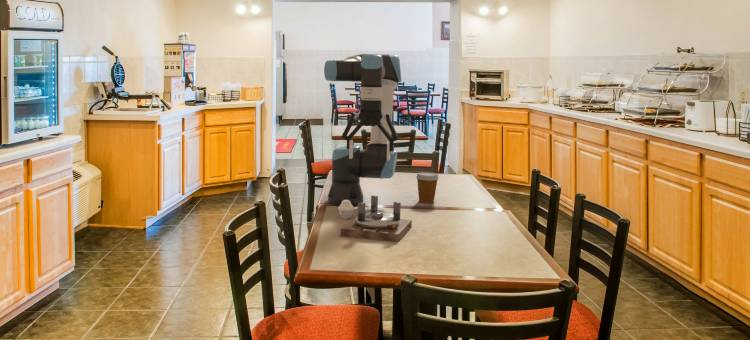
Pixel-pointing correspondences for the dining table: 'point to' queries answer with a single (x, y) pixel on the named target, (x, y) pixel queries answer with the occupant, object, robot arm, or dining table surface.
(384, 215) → the capstan
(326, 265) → the dining table surface
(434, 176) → the disposable coffee cup
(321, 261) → the dining table surface
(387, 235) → the stand
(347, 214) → the muffin
